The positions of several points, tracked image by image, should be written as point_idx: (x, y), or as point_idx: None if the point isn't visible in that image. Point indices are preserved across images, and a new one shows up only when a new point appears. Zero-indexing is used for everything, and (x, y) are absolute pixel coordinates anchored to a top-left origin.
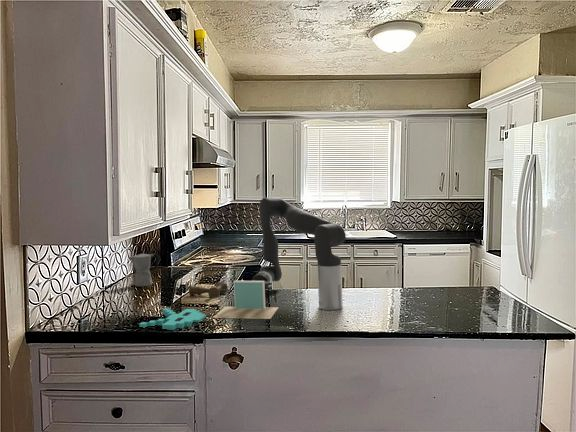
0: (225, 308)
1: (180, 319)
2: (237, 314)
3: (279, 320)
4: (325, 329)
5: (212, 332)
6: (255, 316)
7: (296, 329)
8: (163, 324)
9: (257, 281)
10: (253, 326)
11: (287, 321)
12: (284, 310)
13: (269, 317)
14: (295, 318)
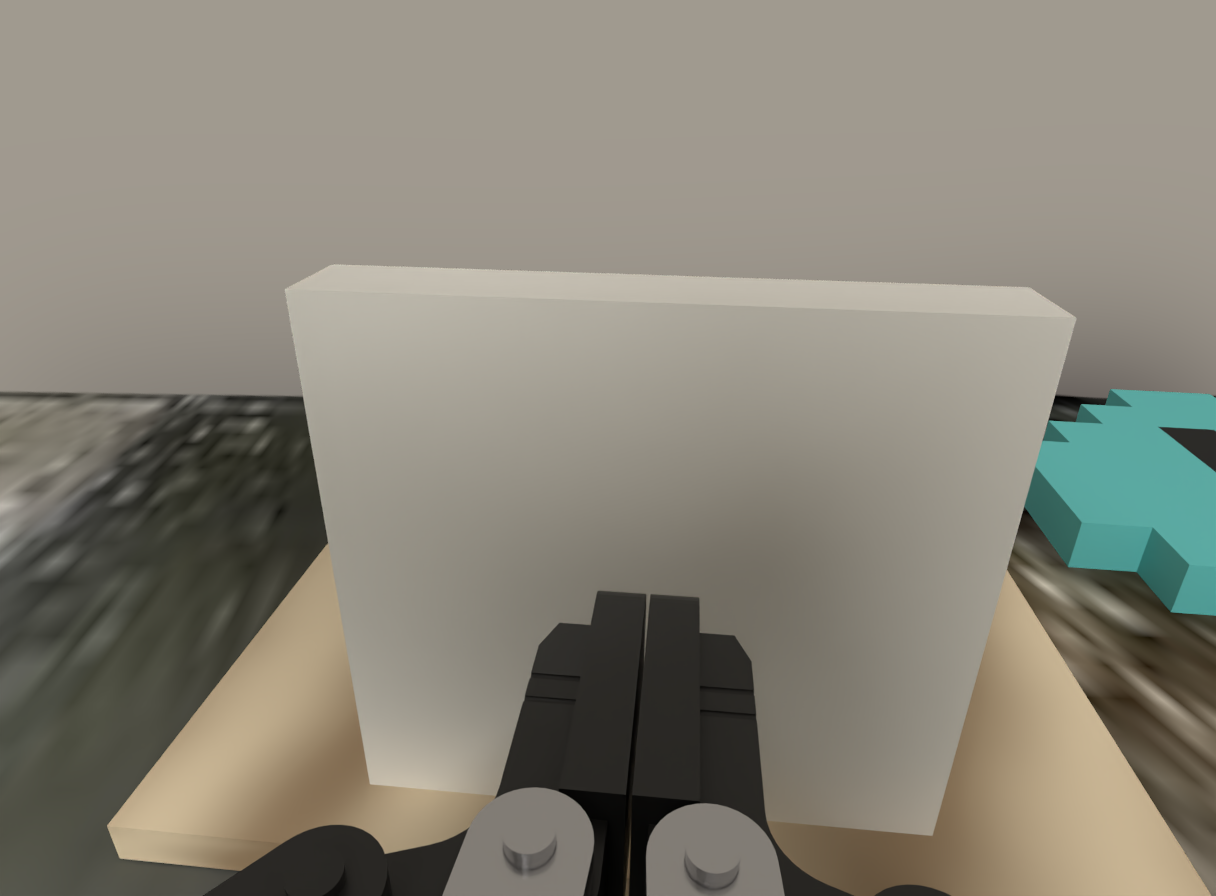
0: (1108, 802)
1: (1198, 448)
2: None
3: (283, 524)
4: (21, 409)
5: None
6: None
7: (221, 412)
8: (1206, 396)
9: (458, 274)
10: None
11: (216, 506)
12: (33, 829)
13: None
14: (91, 557)
